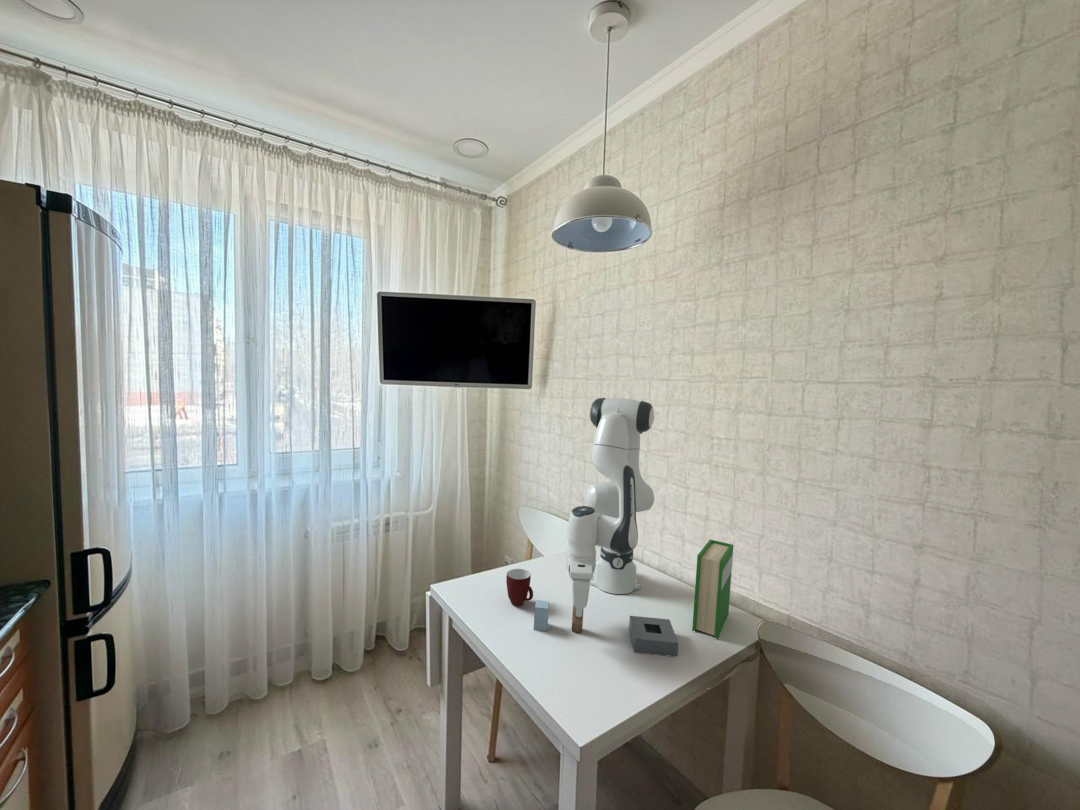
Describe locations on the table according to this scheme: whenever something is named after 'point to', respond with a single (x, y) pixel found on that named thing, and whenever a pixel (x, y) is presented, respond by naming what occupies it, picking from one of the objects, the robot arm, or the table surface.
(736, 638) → the table surface
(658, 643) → the socket
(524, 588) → the mug
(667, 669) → the table surface
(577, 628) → the round peg
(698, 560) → the hardback book
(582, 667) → the table surface
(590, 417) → the robot arm
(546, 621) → the square peg
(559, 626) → the table surface
